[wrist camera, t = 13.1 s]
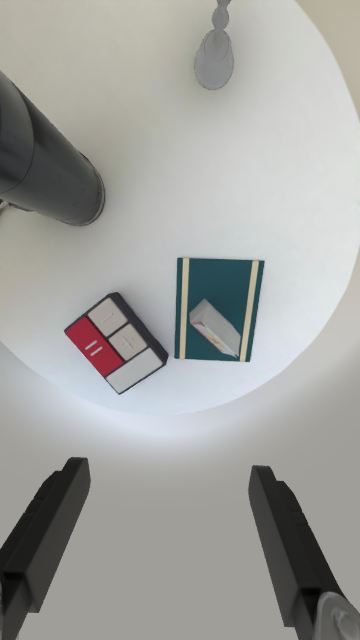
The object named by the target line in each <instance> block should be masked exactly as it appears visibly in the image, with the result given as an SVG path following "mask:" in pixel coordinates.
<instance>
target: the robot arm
mask: <svg viewBox="0 0 360 640" xmlns="http://www.w3.org/2000/svg"><path fill="white" fill-rule="evenodd" d="M84 157H85V156H84V155H83V154H81V153H80V152H79V151H78V150H77V149H76V148H75V147H74V146H73V145H72V144H71V143H70V142H69V141H68V140H67V139H66V138H65V137H64V136H63V135H62V134H61V133H60V132H59V131H58V130H57V128H56V127H55V126H54V125H53V124H52V123H51V122H50V121H49V120H48V119H47V118H46V117H45V116H44V115H43V114H42V113H41V112H40V111H39V110H38V109H37V107H36V106H35V105H34V104H33V103H32V102H31V101H30V100H29V99H28V98H27V97H26V96H25V95H24V94H23V93H22V92H21V91H20V90H19V89H18V88H17V87H16V85H15V84H14V83H13V82H12V81H11V80H10V79H9V78H8V77H7V76H6V75H5V74H4V73H3V72H2V71H1V70H0V204H1V203H2V202H3V201H7V202H9V205H10V206H13V207H16V208H19V209H22V210H25V211H34V212H38V213H41V214H43V215H46V216H49V217H52V218H54V219H57V220H60V221H62V222H64V223H66V224H69V225H73V226H83V225H87V224H89V223H91V222H93V221H94V220H95V219H96V218H97V217H98V216H99V214H100V213H101V211H102V208H103V205H104V200H105V191H104V185H103V182H102V179H101V177H100V175H99V173H98V172H97V170H96V169H95V168H94V167H93V165H92V164H91V163H90V162H89V160H88V159H87V158H86V157H85V158H86V159H87V160H88V161H87V160H86V159H85V158H84ZM90 482H91V480H90V472H89V464H88V459H87V458H80V457H71V458H70V459H68V461H67V462H66V464H65V466H64V467H63V469H62V471H55V472H54V473H53V474H52V475H50V476H49V477H48V478H47V479H46V480H45V481H44V482H43V484H42V486H41V487H40V488H39V490H38V492H37V493H36V495H35V496H34V499H33V500H32V501H31V502H30V504H29V505H28V507H27V509H26V511H25V513H23V515H22V516H21V518H20V519H19V521H18V523H17V524H16V526H15V527H14V529H13V530H12V532H11V533H10V535H9V537H8V538H7V540H6V541H5V543H4V544H3V546H2V548H1V549H0V640H19V631H20V629H21V627H22V624H23V622H24V620H25V618H26V615H27V613H28V612H29V613H30V612H31V613H39V611H40V608H41V606H42V604H43V601H44V599H45V596H46V594H47V592H48V589H49V587H50V584H51V582H52V580H53V577H54V575H55V572H56V570H57V568H58V565H59V563H60V560H61V558H62V555H63V553H64V551H65V548H66V546H67V544H68V541H69V539H70V536H71V534H72V532H73V529H74V527H75V524H76V522H77V519H78V517H79V515H80V512H81V510H82V507H83V505H84V503H85V500H86V498H87V495H88V492H89V488H90ZM248 491H249V500H250V505H251V508H252V512H253V515H254V519H255V522H256V526H257V530H258V533H259V537H260V540H261V544H262V547H263V551H264V555H265V558H266V562H267V566H268V569H269V573H270V576H271V580H272V584H273V587H274V591H275V594H276V598H277V602H278V605H279V609H280V612H281V616H282V620H283V623H284V626H285V627H295V630H296V633H297V636H298V639H299V640H360V613H359V612H358V611H357V610H356V609H355V608H354V606H353V605H352V604H350V602H349V601H348V600H347V598H346V597H345V596H344V594H343V593H342V591H341V589H340V588H339V586H338V584H337V582H336V580H335V578H334V576H333V574H332V572H331V570H330V568H329V565H328V563H327V561H326V559H325V557H324V555H323V553H322V551H321V549H320V547H319V545H318V543H317V541H316V538H315V536H314V534H313V532H312V530H311V528H310V526H309V525H308V522H307V520H306V518H305V515H304V514H303V513H302V509H301V507H300V505H299V503H298V501H297V499H296V497H295V495H294V493H293V492H292V491H291V490H290V488H289V487H288V486H287V485H286V483H285V482H284V481H276V478H275V476H274V474H273V471H272V469H271V468H270V467H269V466H258V465H256V466H255V465H253V466H252V471H251V476H250V482H249V490H248Z"/></svg>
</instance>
